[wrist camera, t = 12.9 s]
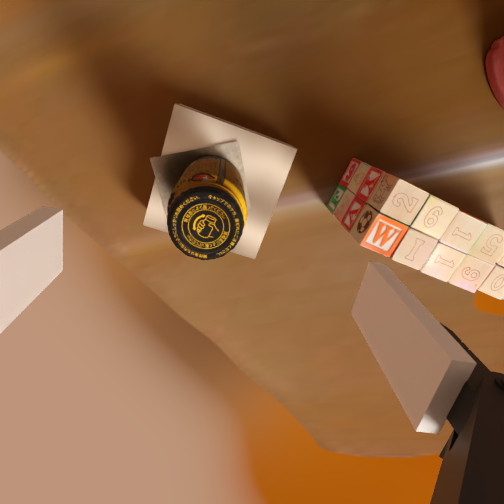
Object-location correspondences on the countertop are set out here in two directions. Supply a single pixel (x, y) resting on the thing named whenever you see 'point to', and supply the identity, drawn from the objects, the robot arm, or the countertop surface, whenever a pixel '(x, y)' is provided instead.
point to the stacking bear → (496, 69)
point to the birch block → (254, 162)
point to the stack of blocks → (419, 229)
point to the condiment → (204, 198)
